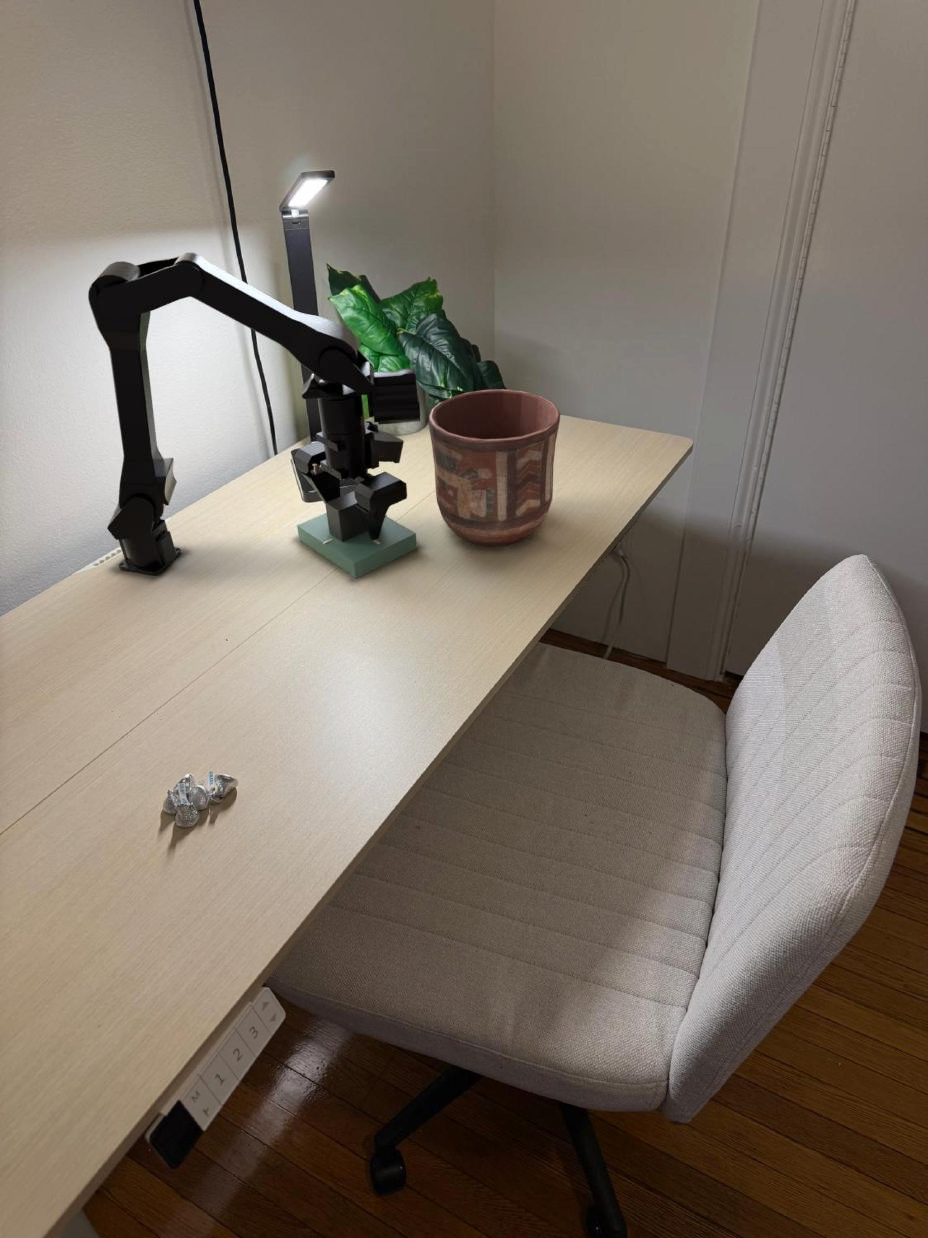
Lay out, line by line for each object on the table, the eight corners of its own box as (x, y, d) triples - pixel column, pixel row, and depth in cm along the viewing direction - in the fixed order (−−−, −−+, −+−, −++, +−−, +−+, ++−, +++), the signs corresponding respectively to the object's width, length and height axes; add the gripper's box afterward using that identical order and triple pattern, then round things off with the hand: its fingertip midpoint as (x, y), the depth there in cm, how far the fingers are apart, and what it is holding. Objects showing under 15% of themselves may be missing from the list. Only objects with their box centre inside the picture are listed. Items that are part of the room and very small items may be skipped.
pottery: (518, 571, 113) (520, 451, 102) (413, 538, 120) (404, 423, 109) (573, 514, 125) (580, 401, 114) (474, 487, 132) (472, 379, 121)
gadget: (342, 542, 115) (338, 509, 112) (329, 533, 117) (324, 501, 114) (381, 524, 119) (378, 492, 116) (368, 516, 121) (364, 484, 118)
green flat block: (298, 540, 121) (295, 524, 119) (359, 513, 127) (357, 497, 125) (355, 578, 112) (353, 562, 111) (417, 547, 118) (416, 532, 117)
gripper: (435, 428, 107) (440, 530, 116) (350, 389, 118) (361, 486, 128) (367, 455, 101) (378, 560, 111) (285, 412, 112) (301, 511, 122)
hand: (355, 527), depth 118 cm, fingers open, 9 cm apart
